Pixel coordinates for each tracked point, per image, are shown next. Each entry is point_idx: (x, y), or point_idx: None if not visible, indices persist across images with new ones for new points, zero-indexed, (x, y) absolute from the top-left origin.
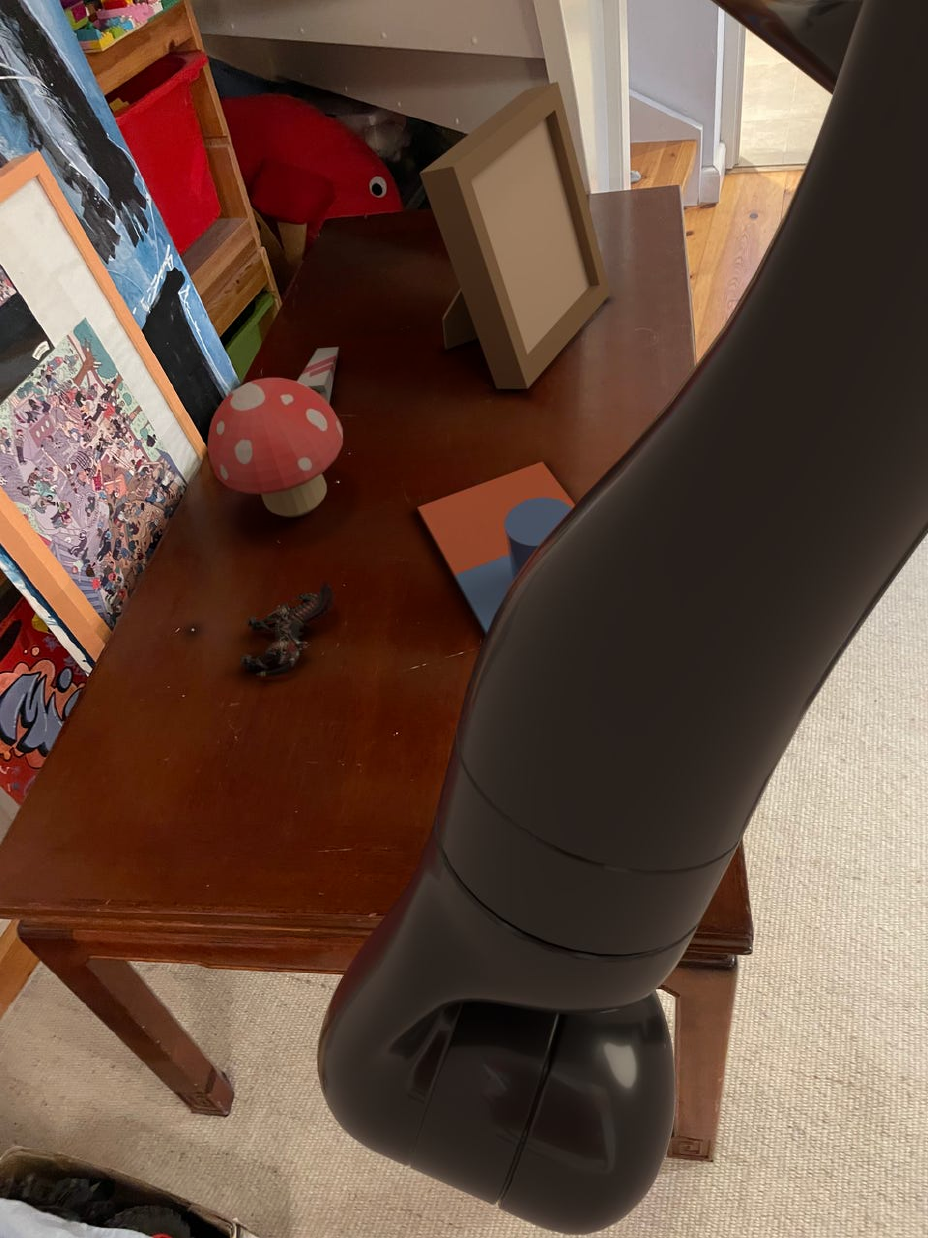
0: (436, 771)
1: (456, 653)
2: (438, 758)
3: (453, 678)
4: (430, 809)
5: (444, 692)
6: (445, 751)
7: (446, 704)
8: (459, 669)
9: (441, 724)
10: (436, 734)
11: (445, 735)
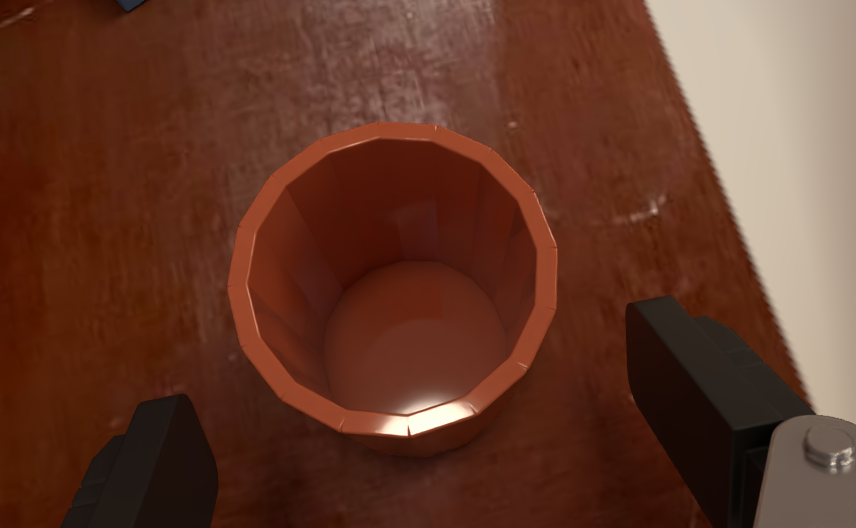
0: (21, 335)
1: (15, 15)
2: (20, 298)
3: (20, 79)
4: (24, 447)
5: (3, 119)
6: (35, 274)
7: (14, 149)
8: (30, 53)
9: (11, 204)
10: (3, 234)
11: (27, 231)
